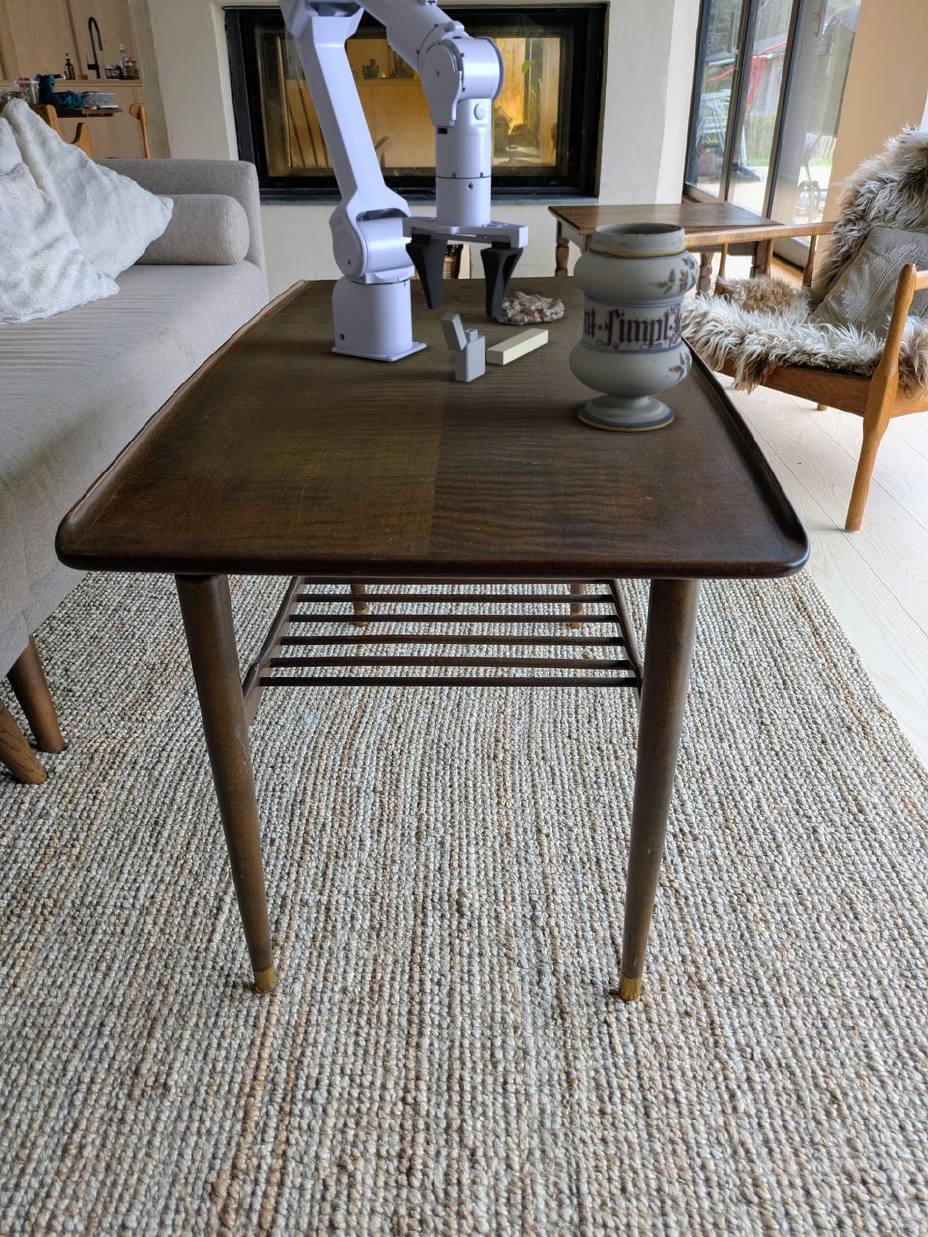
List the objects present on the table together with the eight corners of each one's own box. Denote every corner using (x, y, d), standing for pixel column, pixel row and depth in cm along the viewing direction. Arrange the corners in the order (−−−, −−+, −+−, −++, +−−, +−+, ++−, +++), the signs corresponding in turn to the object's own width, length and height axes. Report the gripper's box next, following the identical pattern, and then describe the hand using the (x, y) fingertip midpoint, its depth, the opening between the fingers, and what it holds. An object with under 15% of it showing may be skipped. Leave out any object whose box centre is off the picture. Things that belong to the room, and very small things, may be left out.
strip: (486, 362, 110) (486, 349, 109) (531, 340, 119) (531, 327, 118) (503, 365, 109) (503, 351, 108) (547, 342, 118) (548, 329, 117)
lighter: (472, 370, 107) (472, 300, 103) (485, 372, 106) (485, 302, 102) (441, 386, 102) (439, 313, 98) (454, 388, 101) (452, 315, 97)
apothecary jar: (562, 397, 98) (571, 217, 89) (673, 397, 98) (694, 217, 88) (570, 435, 88) (580, 237, 78) (694, 436, 87) (720, 236, 78)
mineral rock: (495, 310, 123) (488, 282, 128) (492, 339, 126) (485, 310, 132) (572, 310, 124) (562, 282, 130) (568, 339, 127) (558, 310, 133)
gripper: (383, 175, 94) (389, 310, 101) (506, 183, 87) (503, 326, 94) (420, 169, 99) (424, 298, 106) (539, 176, 92) (534, 312, 99)
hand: (464, 311), depth 100 cm, fingers open, 7 cm apart
